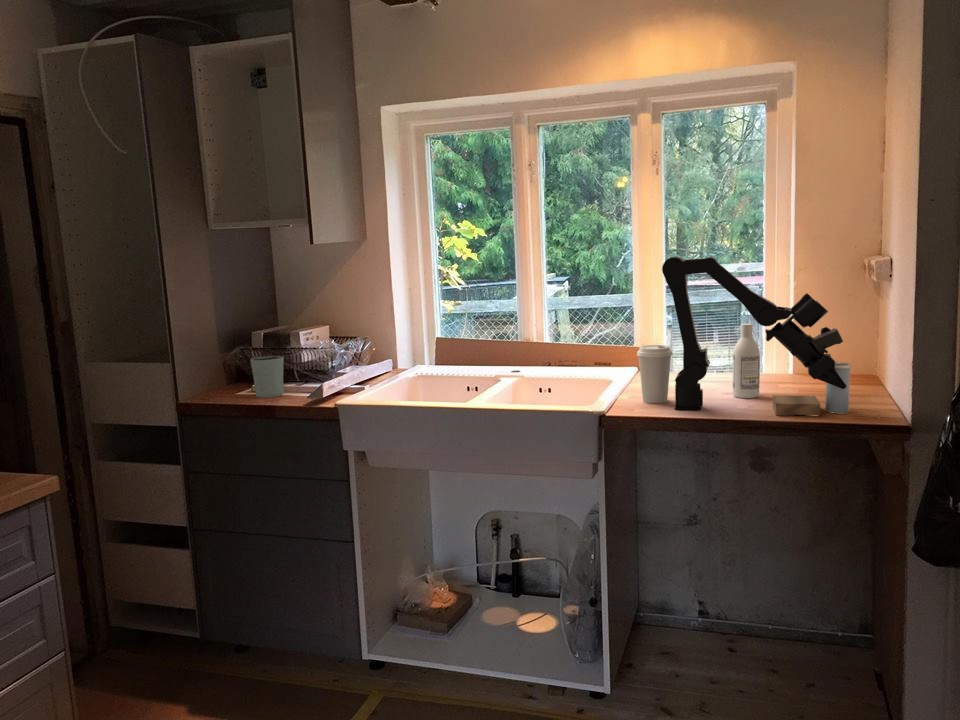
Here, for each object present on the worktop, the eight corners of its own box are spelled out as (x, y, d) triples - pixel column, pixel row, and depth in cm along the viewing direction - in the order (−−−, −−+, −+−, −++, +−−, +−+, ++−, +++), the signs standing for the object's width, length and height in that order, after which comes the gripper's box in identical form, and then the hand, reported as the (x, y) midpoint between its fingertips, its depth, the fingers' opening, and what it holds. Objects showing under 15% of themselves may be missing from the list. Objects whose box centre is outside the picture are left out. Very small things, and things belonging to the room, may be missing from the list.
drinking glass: (249, 398, 241) (245, 360, 239) (259, 392, 251) (256, 355, 249) (281, 397, 241) (278, 359, 239) (290, 391, 251) (287, 354, 249)
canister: (826, 414, 188) (828, 365, 186) (823, 409, 193) (824, 361, 191) (850, 414, 187) (852, 365, 185) (847, 409, 192) (848, 362, 190)
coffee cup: (666, 405, 205) (666, 350, 203) (632, 403, 210) (631, 348, 208) (677, 398, 213) (677, 345, 211) (644, 396, 218) (643, 344, 216)
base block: (775, 415, 189) (776, 403, 188) (772, 406, 198) (772, 395, 198) (820, 416, 186) (820, 404, 186) (814, 407, 195) (815, 395, 195)
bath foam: (764, 396, 211) (765, 323, 208) (746, 399, 208) (747, 326, 205) (744, 392, 217) (745, 322, 214) (727, 395, 214) (727, 324, 211)
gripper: (825, 322, 179) (876, 369, 177) (818, 313, 196) (864, 356, 195) (788, 355, 183) (838, 402, 181) (784, 344, 200) (829, 386, 198)
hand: (843, 385), depth 188 cm, fingers closed on canister, 5 cm apart
